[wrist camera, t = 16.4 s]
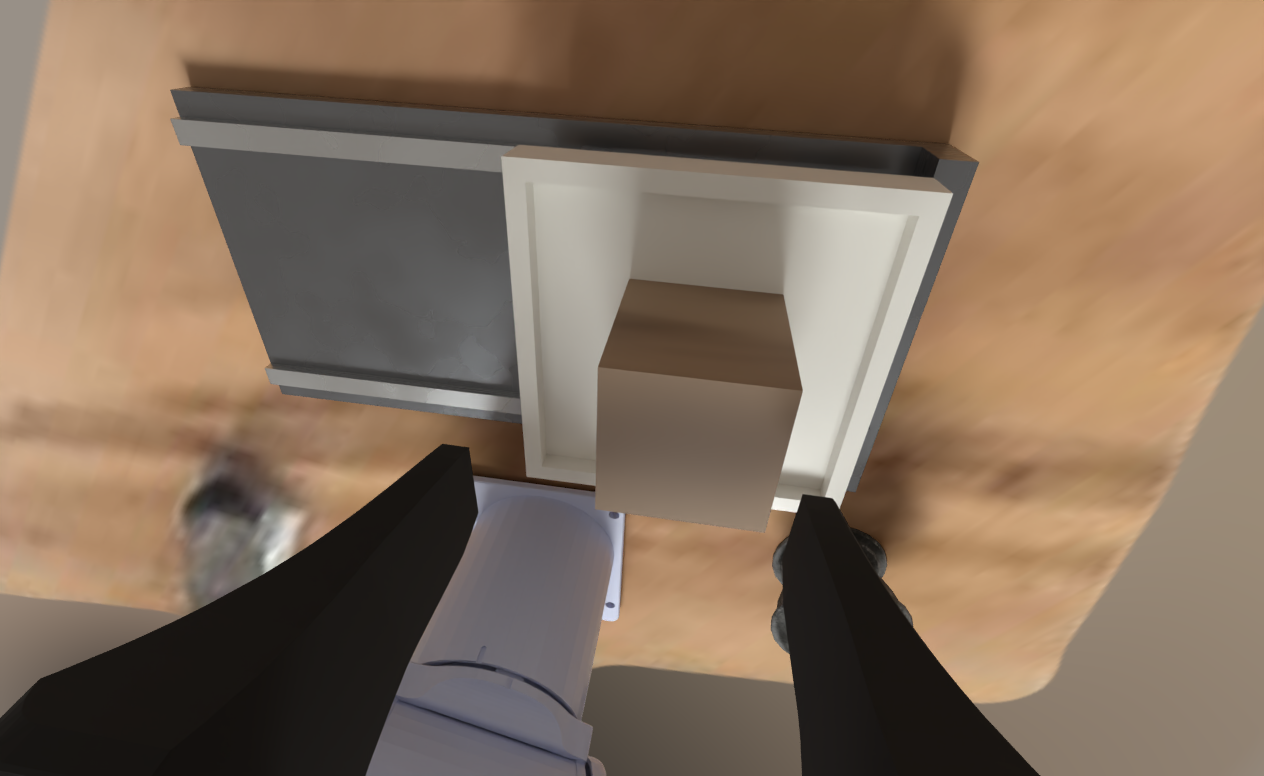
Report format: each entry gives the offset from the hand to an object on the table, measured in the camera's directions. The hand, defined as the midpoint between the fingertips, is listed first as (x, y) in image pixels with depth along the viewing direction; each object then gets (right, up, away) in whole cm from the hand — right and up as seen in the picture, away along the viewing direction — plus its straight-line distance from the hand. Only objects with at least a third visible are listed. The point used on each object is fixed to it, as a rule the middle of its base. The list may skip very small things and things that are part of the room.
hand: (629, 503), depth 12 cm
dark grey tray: (-3, +6, +9) cm, 11 cm away
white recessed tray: (+2, +5, +7) cm, 9 cm away
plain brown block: (+2, +4, +5) cm, 7 cm away
